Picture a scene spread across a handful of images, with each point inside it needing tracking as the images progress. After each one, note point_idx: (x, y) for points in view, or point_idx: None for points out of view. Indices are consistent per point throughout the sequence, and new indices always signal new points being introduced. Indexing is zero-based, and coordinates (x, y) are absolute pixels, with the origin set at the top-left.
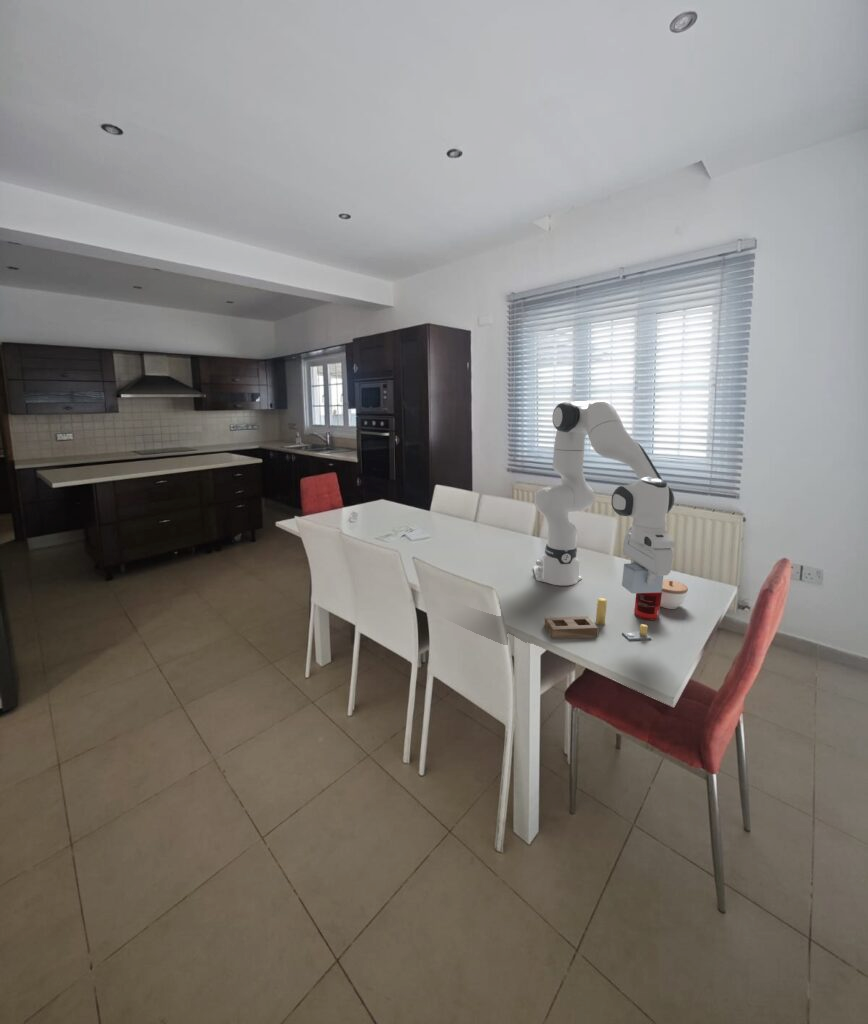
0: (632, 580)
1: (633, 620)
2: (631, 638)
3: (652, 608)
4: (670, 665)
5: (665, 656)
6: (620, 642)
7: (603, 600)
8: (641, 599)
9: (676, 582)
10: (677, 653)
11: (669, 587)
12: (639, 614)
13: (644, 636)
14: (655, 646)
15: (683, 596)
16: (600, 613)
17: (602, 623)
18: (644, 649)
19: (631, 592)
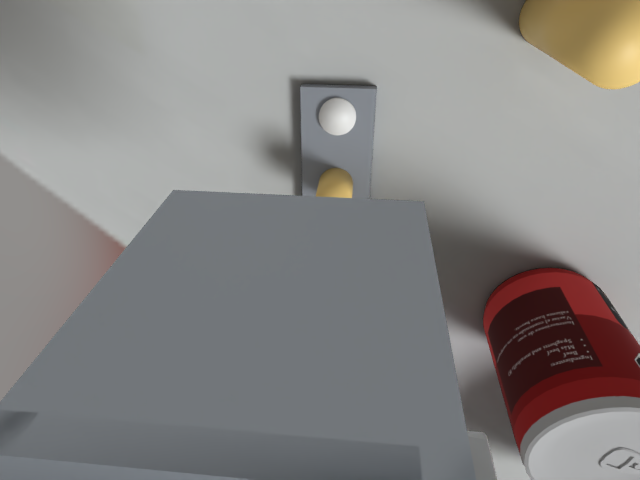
0: (118, 287)
1: (510, 227)
2: (302, 102)
3: (497, 346)
4: (77, 154)
5: (152, 176)
6: (284, 21)
7: (607, 50)
8: (560, 341)
9: None
10: None
11: None
12: (532, 278)
13: (317, 180)
14: (240, 184)
15: None
16: (555, 7)
17: (521, 19)
18: (210, 116)
19: (182, 193)
